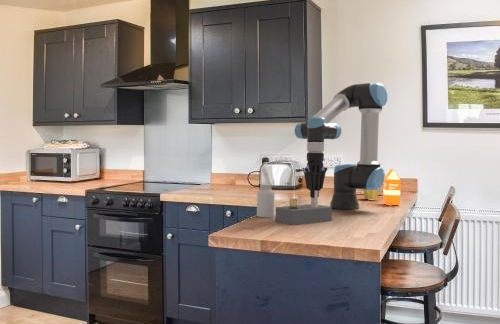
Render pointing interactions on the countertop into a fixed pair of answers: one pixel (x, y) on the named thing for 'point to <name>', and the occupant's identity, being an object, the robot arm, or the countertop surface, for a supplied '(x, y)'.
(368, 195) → the plant pot
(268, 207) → the pill bottle
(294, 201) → the pin
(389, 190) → the orange juice
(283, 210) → the block
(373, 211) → the countertop surface
